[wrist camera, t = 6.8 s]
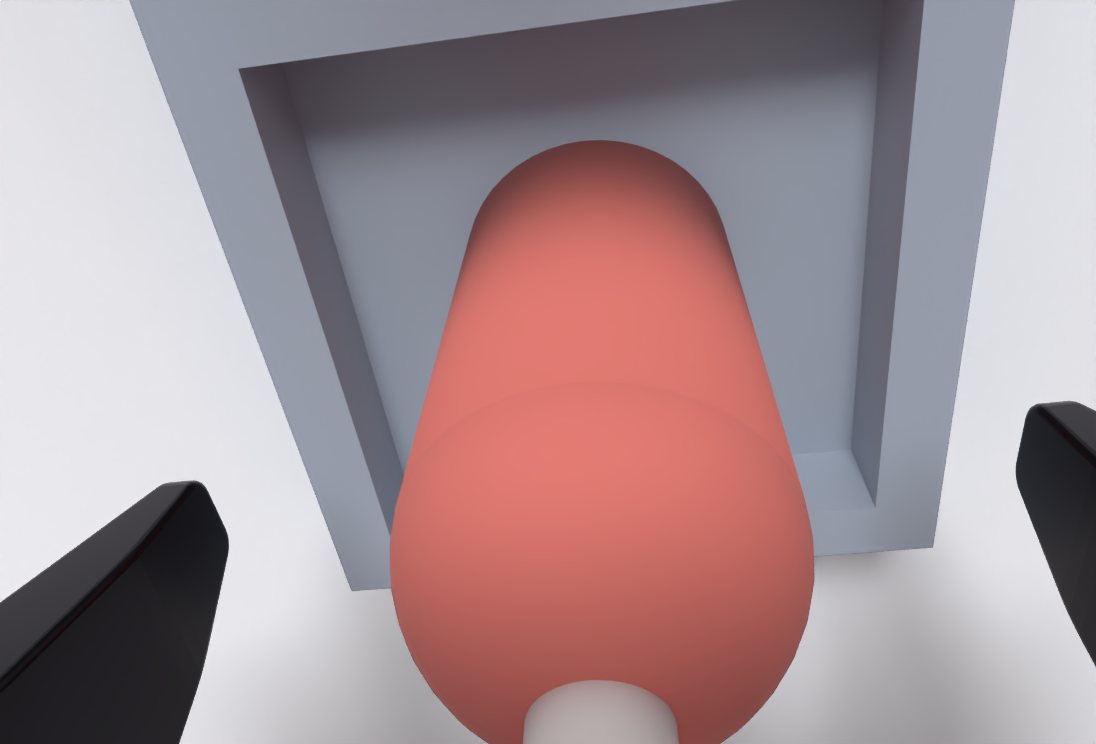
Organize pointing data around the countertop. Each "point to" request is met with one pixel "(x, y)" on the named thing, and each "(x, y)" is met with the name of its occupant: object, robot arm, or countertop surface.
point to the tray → (615, 115)
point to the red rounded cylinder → (600, 470)
